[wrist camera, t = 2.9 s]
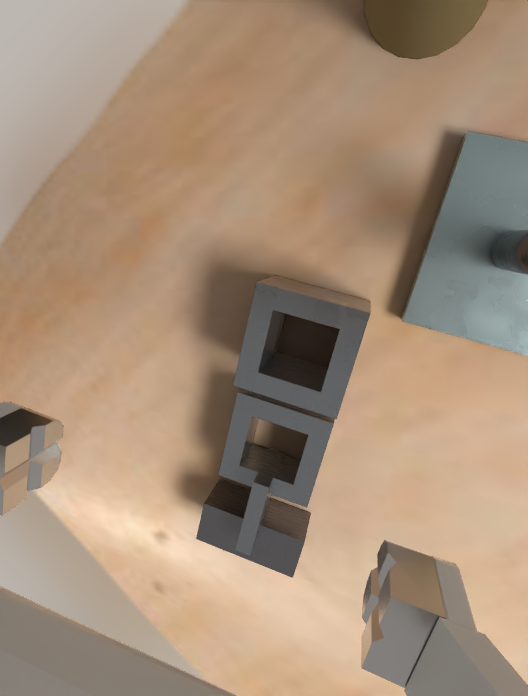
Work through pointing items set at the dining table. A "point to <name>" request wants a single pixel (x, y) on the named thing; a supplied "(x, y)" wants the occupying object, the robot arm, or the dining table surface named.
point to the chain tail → (264, 485)
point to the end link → (291, 373)
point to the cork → (421, 24)
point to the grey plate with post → (478, 249)
